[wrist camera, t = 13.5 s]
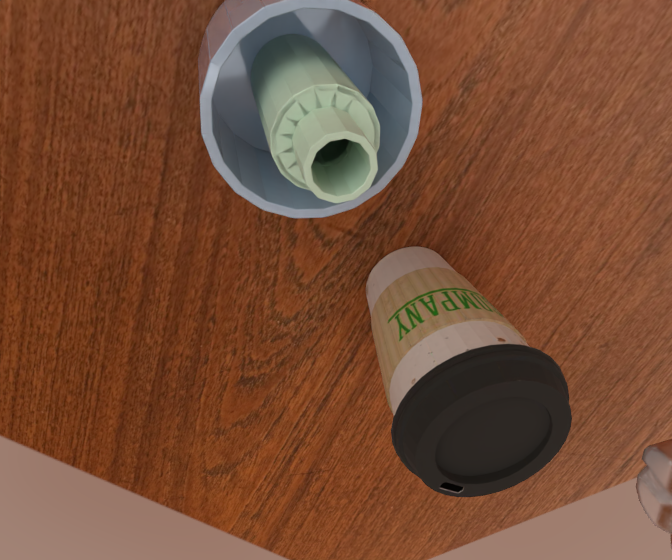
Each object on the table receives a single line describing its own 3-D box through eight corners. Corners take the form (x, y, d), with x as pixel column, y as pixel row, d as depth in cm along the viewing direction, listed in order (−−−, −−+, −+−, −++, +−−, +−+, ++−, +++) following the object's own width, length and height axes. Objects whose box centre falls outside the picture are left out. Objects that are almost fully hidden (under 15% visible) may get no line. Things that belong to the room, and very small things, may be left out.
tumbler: (177, 128, 34) (174, 186, 27) (230, -61, 29) (241, -47, 23) (338, 178, 37) (369, 239, 31) (406, 16, 33) (459, 48, 26)
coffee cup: (499, 256, 43) (621, 402, 31) (420, 354, 47) (501, 519, 35) (392, 199, 39) (484, 343, 27) (314, 312, 43) (364, 483, 30)
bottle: (239, 103, 33) (262, 205, 23) (266, 20, 31) (305, 88, 20) (316, 129, 35) (371, 236, 24) (346, 51, 33) (420, 130, 22)
